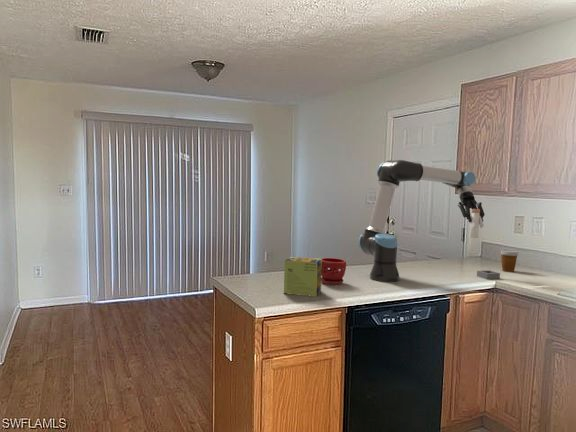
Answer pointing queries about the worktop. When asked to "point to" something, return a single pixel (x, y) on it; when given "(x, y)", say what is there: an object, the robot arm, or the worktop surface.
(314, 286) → the protein box
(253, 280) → the worktop surface
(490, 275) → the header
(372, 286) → the worktop surface
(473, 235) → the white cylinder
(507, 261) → the disposable coffee cup
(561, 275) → the worktop surface
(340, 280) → the plant pot
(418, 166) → the robot arm
